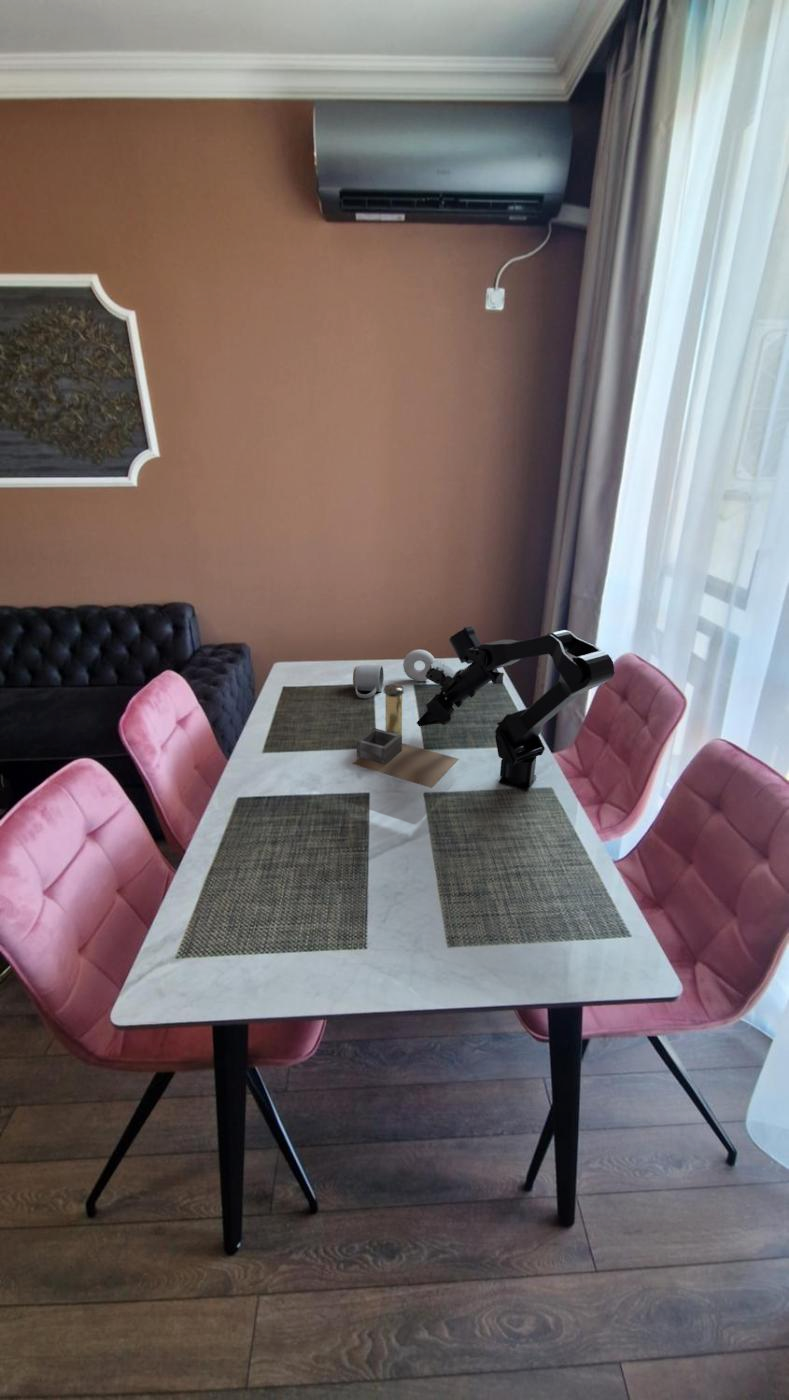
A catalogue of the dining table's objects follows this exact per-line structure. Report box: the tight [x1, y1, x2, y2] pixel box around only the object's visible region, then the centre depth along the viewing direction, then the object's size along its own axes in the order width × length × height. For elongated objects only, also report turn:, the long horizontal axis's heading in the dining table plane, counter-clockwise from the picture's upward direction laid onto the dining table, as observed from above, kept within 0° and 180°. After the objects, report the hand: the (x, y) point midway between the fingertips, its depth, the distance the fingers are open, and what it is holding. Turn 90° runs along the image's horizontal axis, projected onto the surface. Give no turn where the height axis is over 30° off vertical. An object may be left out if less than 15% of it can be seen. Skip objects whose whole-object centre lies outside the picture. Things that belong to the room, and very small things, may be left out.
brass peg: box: [383, 683, 405, 736], centre depth 147 cm, size 5×5×14 cm
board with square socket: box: [351, 727, 460, 789], centre depth 137 cm, size 21×14×6 cm
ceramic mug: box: [352, 664, 385, 699], centre depth 175 cm, size 11×8×8 cm
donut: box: [402, 649, 436, 682], centre depth 182 cm, size 10×3×10 cm, turn 84°
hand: (423, 716), depth 144 cm, fingers open, 9 cm apart
